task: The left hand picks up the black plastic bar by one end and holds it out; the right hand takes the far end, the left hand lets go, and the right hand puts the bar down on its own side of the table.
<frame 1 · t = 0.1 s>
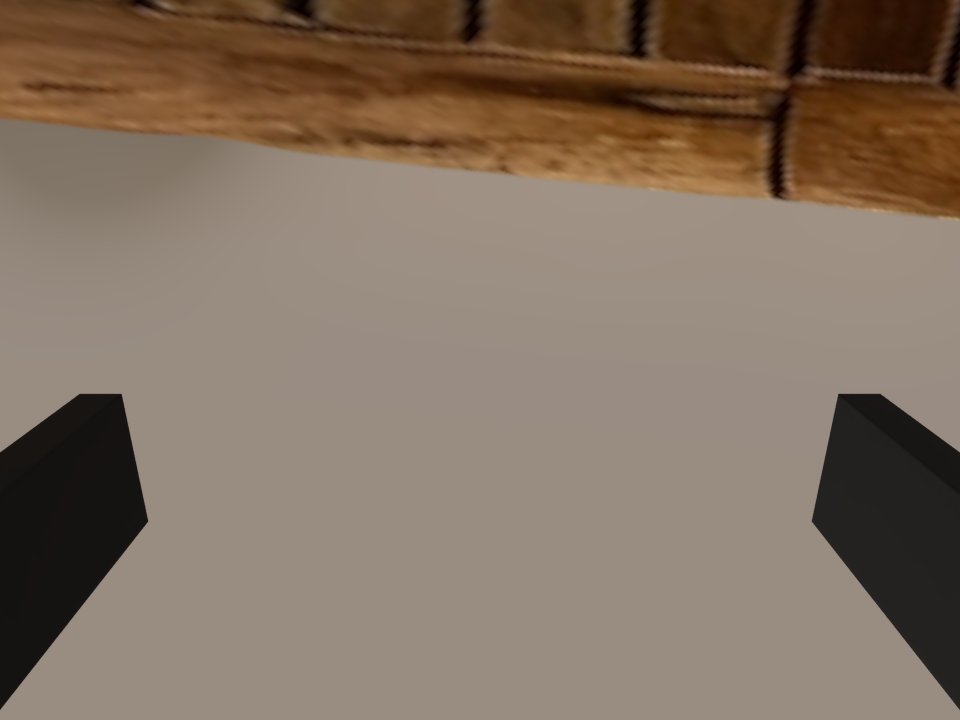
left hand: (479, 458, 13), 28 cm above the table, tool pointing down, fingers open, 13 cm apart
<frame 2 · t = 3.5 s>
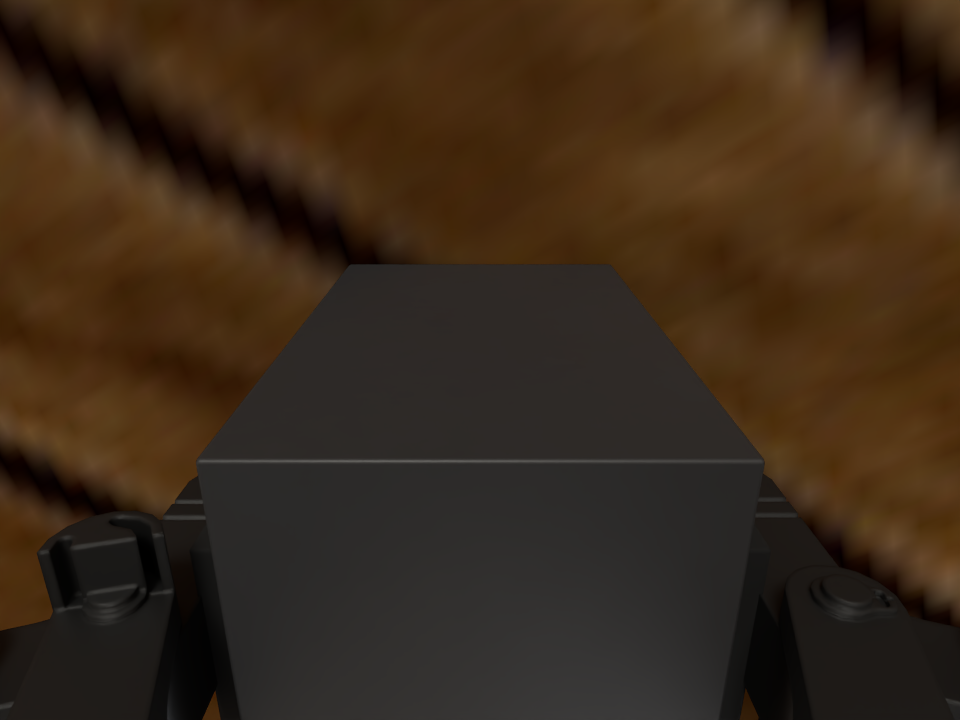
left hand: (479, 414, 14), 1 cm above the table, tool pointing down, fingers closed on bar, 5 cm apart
bar: (480, 692, 18), on the table, touching left hand
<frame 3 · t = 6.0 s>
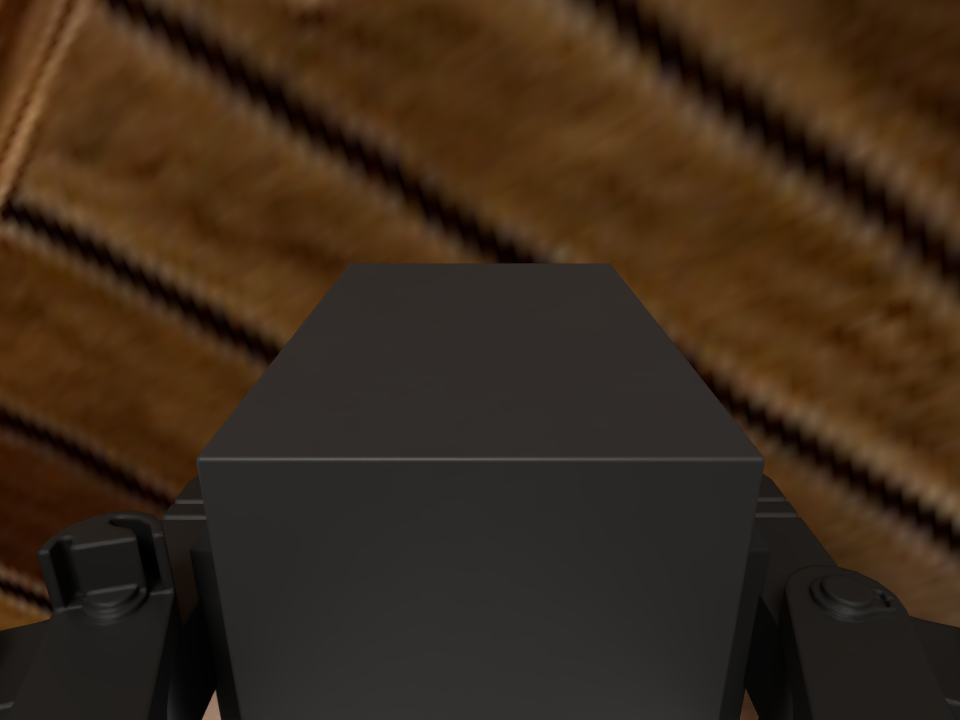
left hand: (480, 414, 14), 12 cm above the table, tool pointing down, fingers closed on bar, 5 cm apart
bar: (480, 692, 18), point 12 cm above the table, touching left hand
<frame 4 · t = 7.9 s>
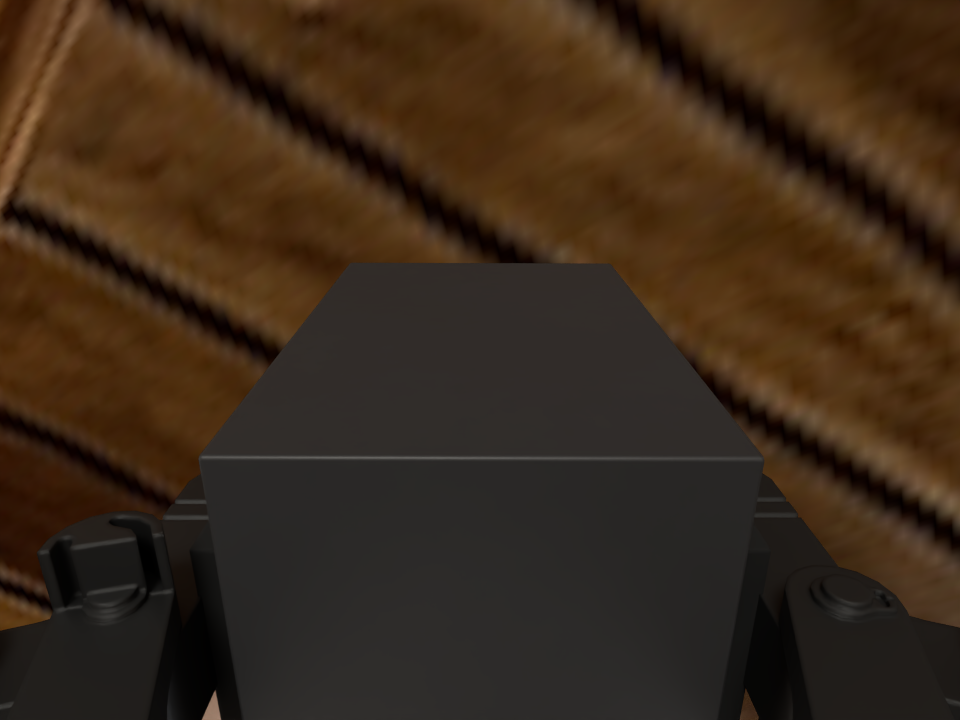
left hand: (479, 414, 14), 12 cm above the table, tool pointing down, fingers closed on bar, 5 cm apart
bar: (478, 690, 18), point 12 cm above the table, touching left hand, right hand
when the left hand's fingers open (12 cm above the table, at t = 8.7 s): bar stays where it is, held by the right hand.
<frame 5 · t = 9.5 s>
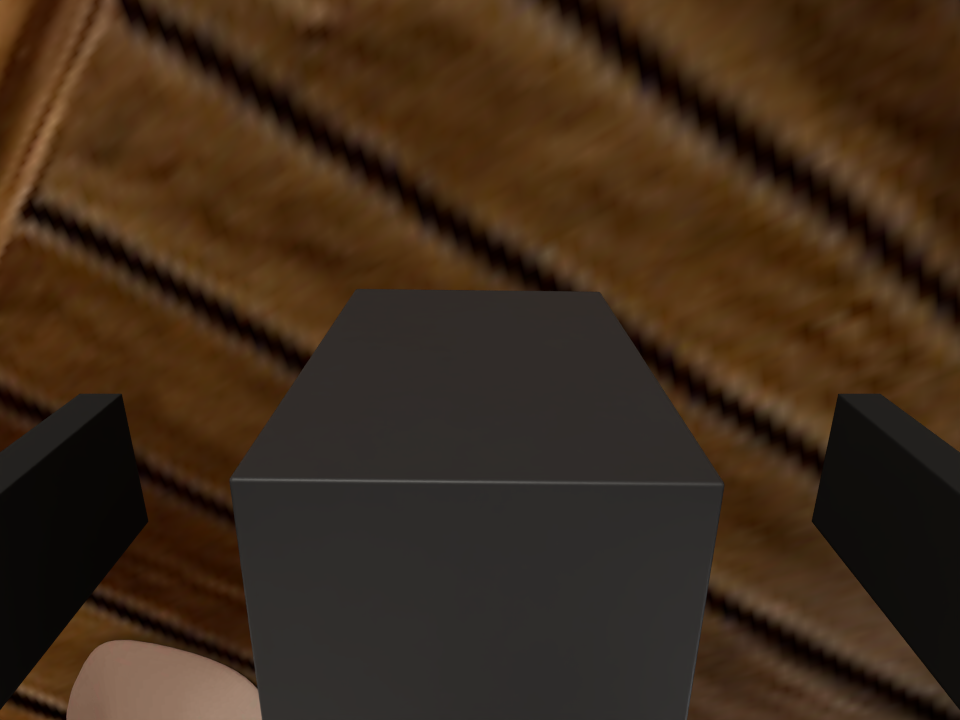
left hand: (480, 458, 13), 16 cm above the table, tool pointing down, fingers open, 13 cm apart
bar: (473, 693, 19), point 13 cm above the table, touching right hand
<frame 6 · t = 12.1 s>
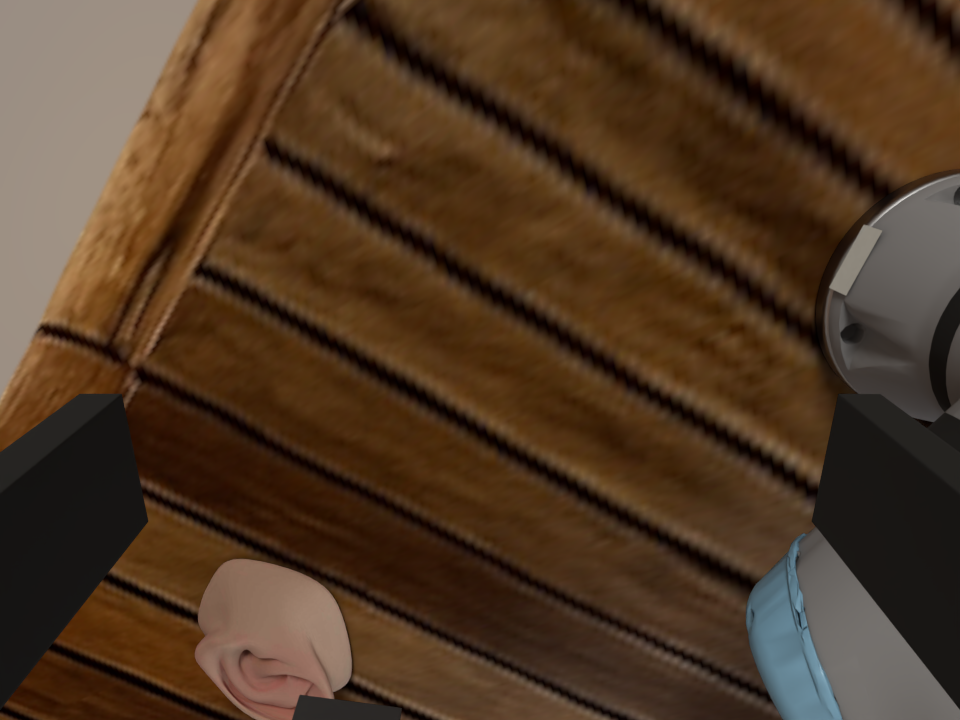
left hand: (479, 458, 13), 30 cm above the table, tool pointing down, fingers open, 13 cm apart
anatomical model: (276, 628, 52), on the table
when the right hand's fingers open (4 cm above the table, at t = 16.5 s): bar stays where it is, on the table.
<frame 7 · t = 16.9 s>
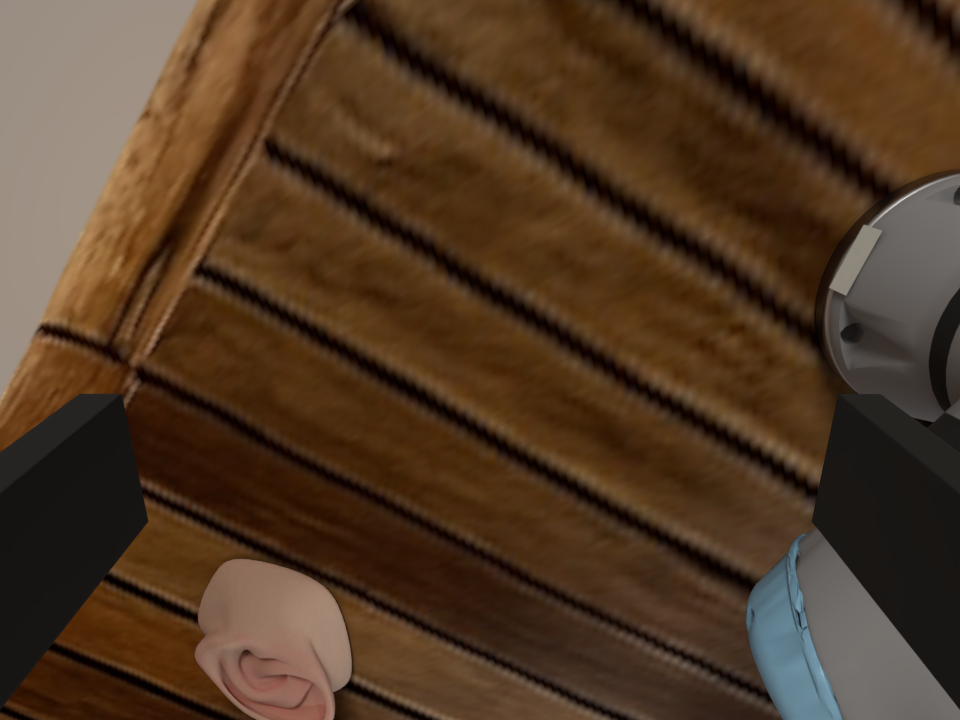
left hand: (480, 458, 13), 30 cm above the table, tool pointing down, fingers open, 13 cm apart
anatomical model: (276, 628, 52), on the table
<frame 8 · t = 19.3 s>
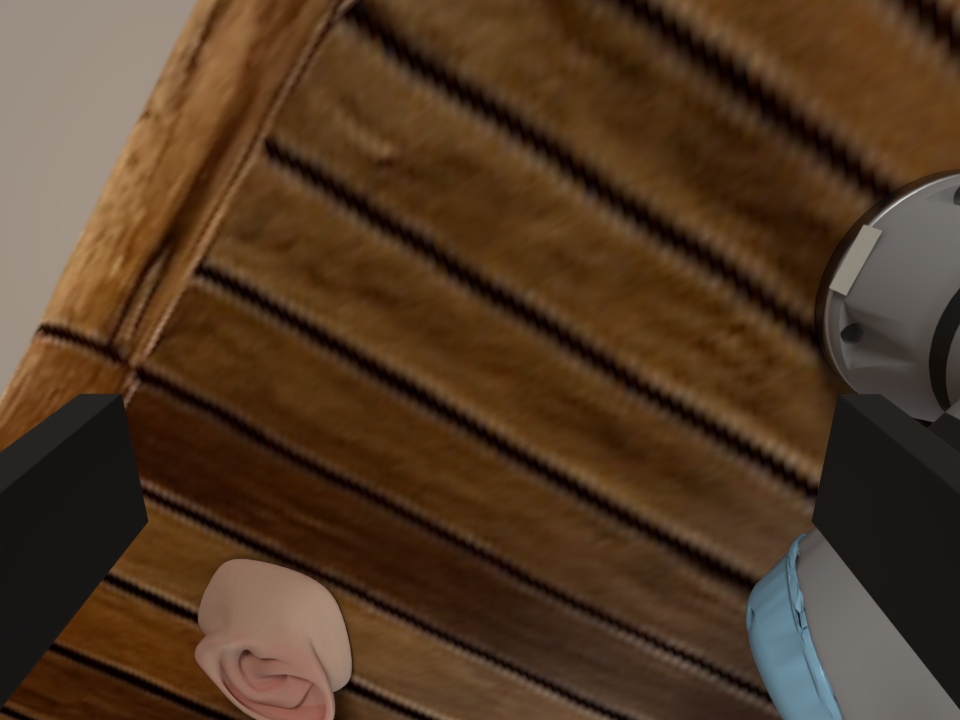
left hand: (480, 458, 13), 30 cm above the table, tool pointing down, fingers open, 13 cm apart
anatomical model: (276, 628, 52), on the table
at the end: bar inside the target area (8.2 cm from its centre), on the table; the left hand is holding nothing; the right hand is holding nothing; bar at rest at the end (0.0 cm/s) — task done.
